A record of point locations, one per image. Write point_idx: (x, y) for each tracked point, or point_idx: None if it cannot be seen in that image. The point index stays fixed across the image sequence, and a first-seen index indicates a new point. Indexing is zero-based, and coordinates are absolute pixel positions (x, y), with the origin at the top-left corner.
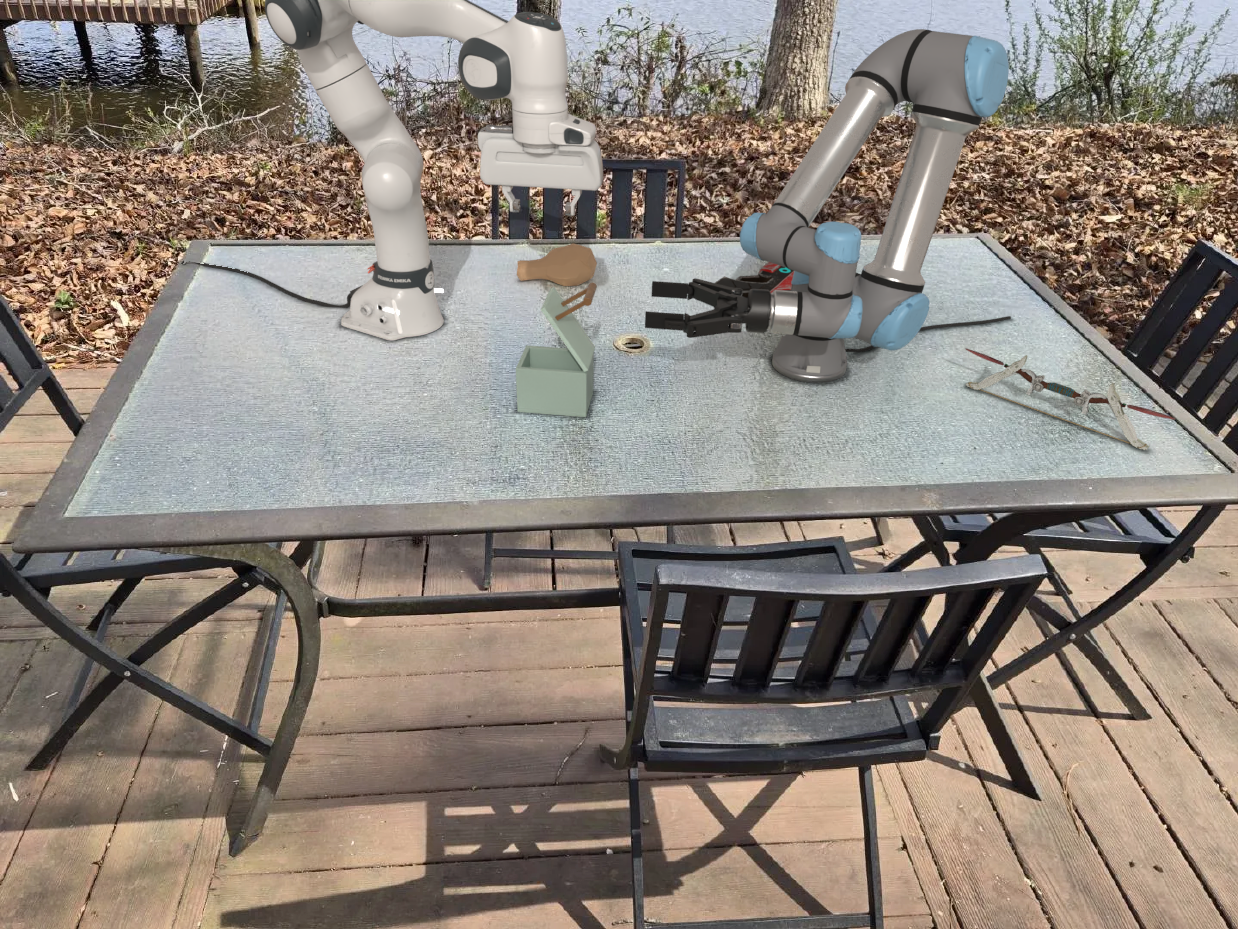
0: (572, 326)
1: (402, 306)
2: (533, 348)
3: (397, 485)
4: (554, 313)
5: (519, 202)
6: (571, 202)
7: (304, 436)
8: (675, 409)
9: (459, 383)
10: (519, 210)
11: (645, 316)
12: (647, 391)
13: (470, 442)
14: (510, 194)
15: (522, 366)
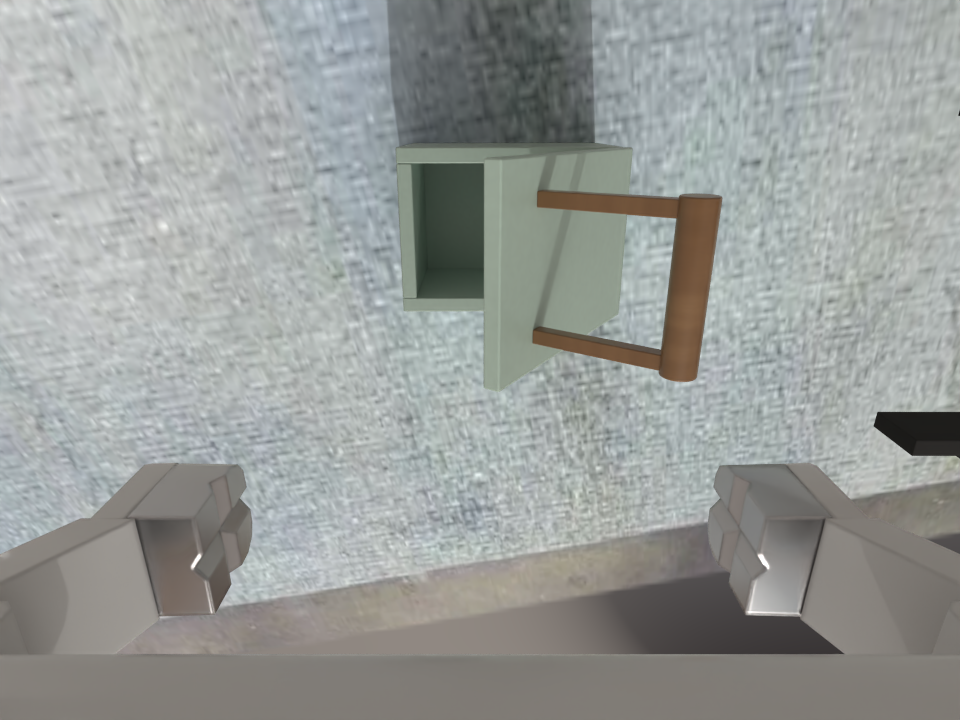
0: (576, 233)
1: None
2: (424, 162)
3: (273, 553)
4: (527, 328)
5: (212, 537)
6: (830, 596)
7: (10, 439)
8: (812, 201)
9: (222, 150)
10: (243, 490)
11: (903, 448)
12: (746, 110)
13: (351, 412)
14: (66, 632)
15: (417, 279)
